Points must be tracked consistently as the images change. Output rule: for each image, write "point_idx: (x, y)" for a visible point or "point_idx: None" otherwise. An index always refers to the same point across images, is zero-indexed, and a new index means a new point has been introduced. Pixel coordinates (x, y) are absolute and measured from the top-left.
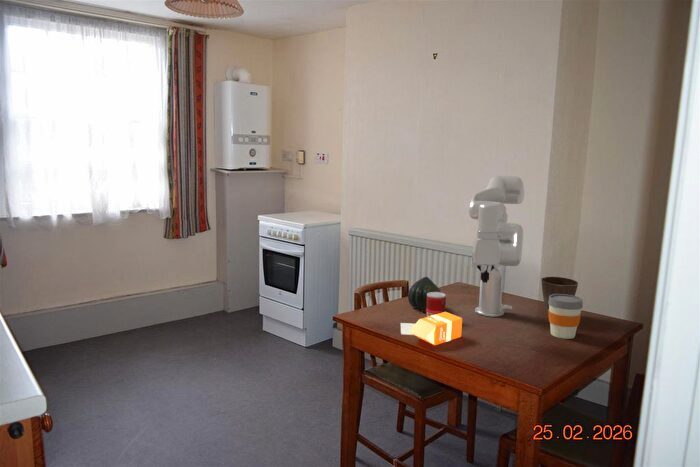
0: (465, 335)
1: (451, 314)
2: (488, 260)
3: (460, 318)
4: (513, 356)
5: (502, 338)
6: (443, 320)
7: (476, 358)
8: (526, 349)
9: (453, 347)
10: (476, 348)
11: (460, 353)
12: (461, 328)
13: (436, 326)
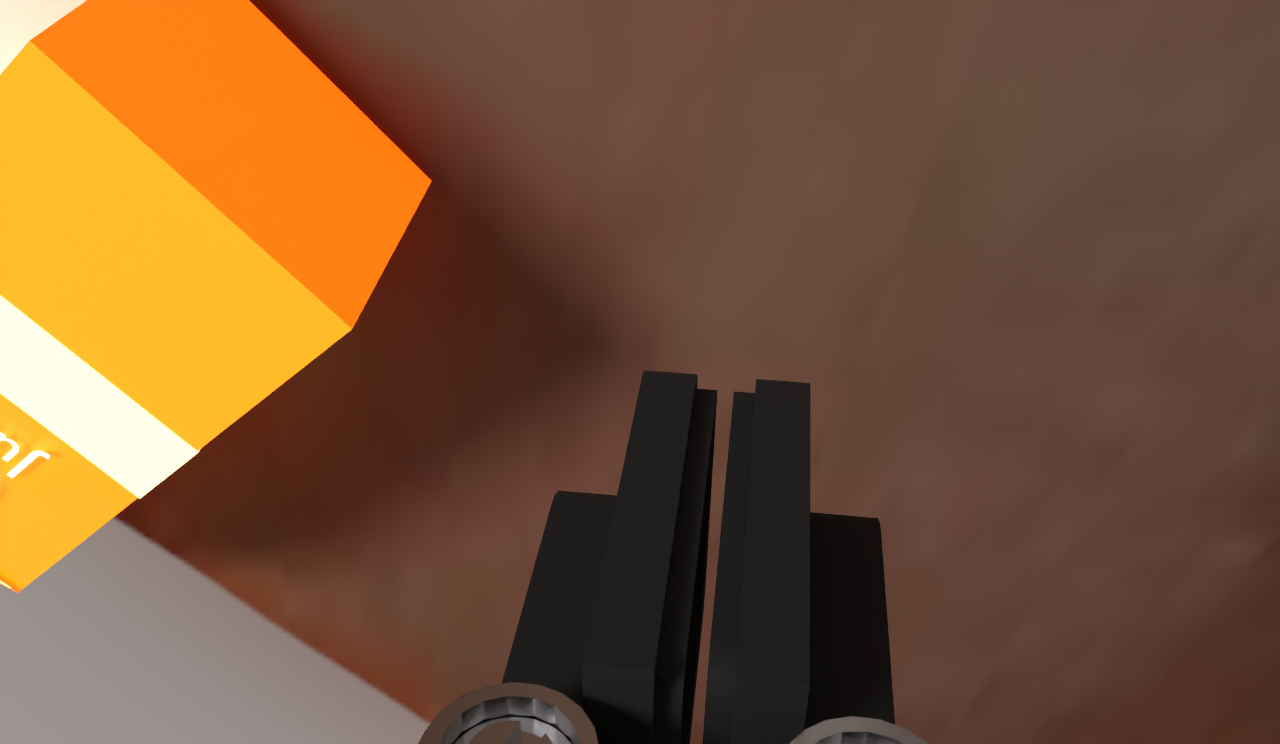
0: (503, 92)
1: (158, 171)
2: None
3: (321, 336)
4: (932, 656)
5: (1024, 180)
6: (72, 425)
7: None
8: (1176, 508)
9: (337, 468)
10: (587, 488)
11: (406, 595)
12: (397, 241)
13: (24, 586)
